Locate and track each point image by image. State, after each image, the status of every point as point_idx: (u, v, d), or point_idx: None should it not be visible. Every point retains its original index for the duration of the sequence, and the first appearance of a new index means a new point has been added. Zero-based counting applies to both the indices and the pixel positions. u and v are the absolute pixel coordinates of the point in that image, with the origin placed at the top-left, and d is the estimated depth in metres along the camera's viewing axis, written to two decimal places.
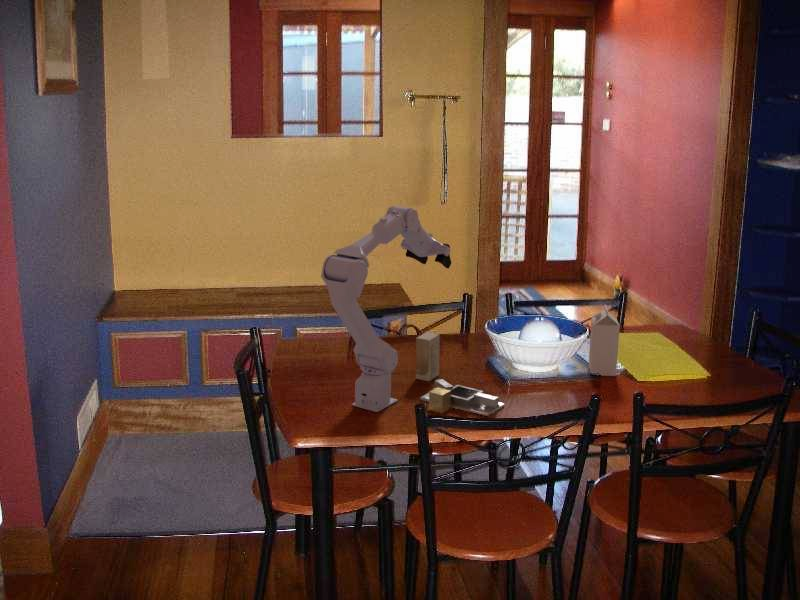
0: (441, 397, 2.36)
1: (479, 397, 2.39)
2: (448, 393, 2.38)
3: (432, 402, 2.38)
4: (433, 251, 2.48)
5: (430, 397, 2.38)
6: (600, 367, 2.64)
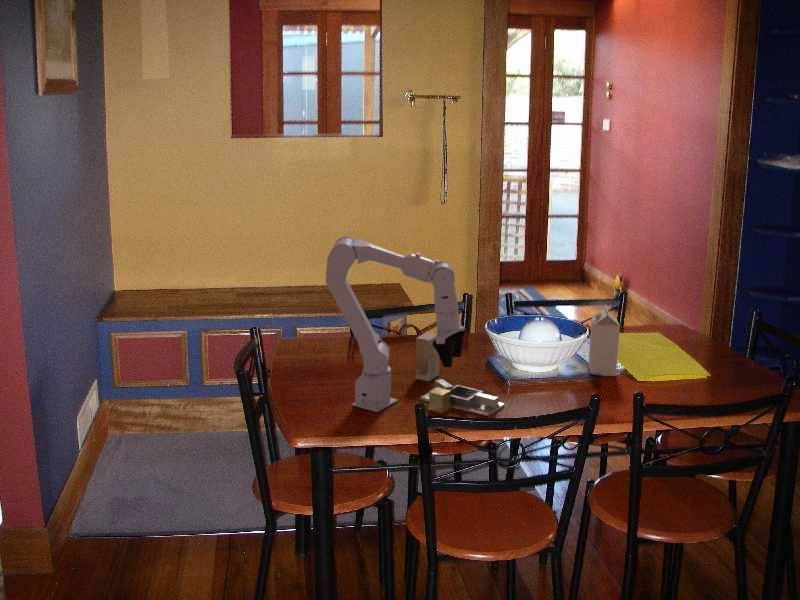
0: (441, 397, 2.36)
1: (479, 397, 2.39)
2: (448, 393, 2.38)
3: (432, 402, 2.38)
4: (441, 333, 2.35)
5: (430, 397, 2.38)
6: (600, 367, 2.64)
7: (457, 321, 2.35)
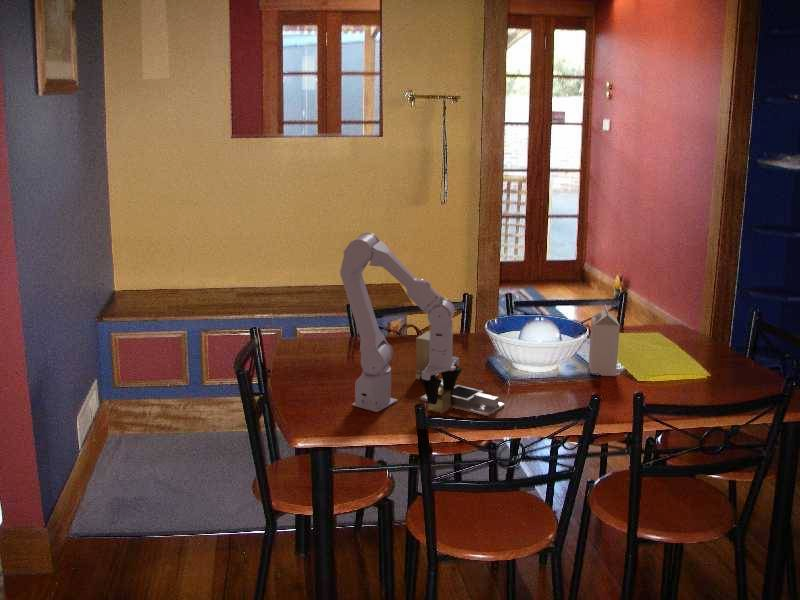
0: (441, 397, 2.36)
1: (479, 397, 2.39)
2: (448, 393, 2.38)
3: None
4: (430, 369, 2.35)
5: None
6: (600, 367, 2.64)
7: (448, 360, 2.34)
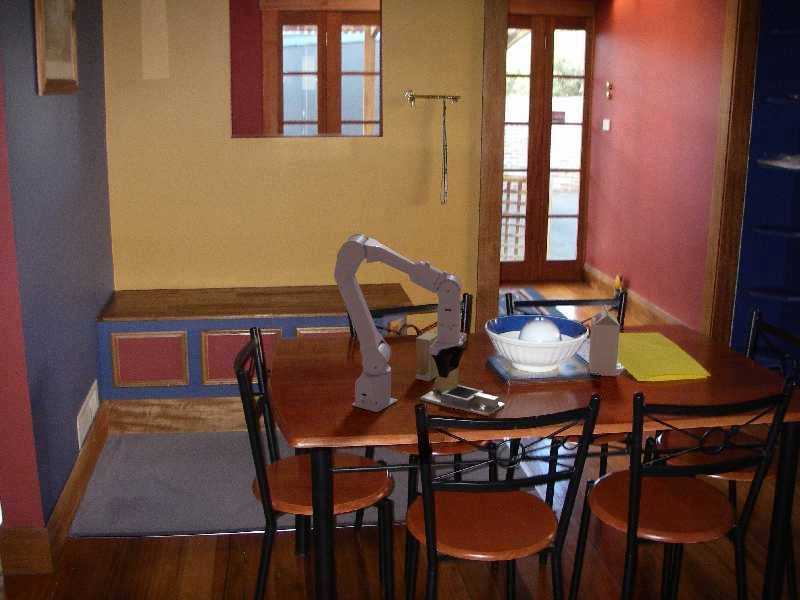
0: (448, 374, 2.36)
1: (479, 397, 2.39)
2: (456, 370, 2.38)
3: (439, 379, 2.38)
4: (438, 344, 2.34)
5: (438, 375, 2.38)
6: (600, 367, 2.64)
7: (456, 335, 2.34)
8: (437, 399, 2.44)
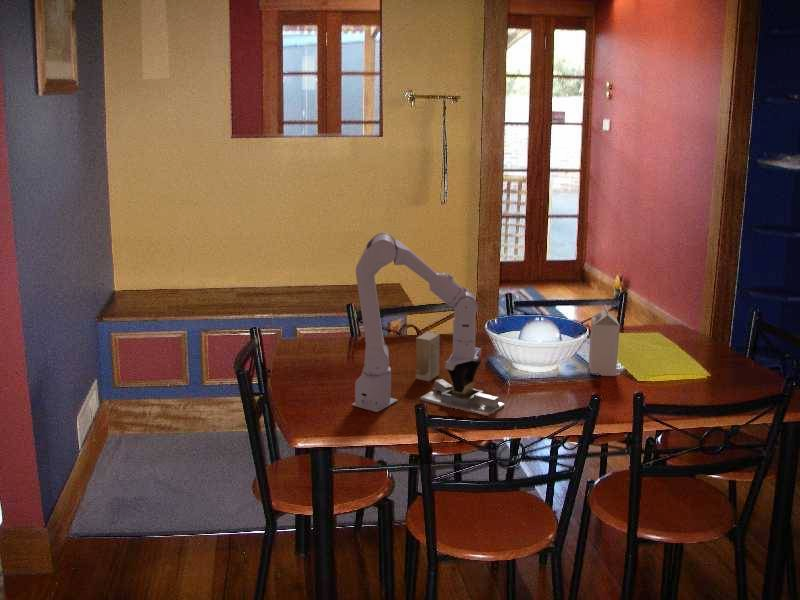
0: (464, 387, 2.40)
1: (479, 397, 2.39)
2: (471, 384, 2.42)
3: (454, 392, 2.42)
4: (453, 359, 2.39)
5: (453, 388, 2.42)
6: (600, 367, 2.64)
7: (471, 351, 2.38)
8: (437, 399, 2.44)
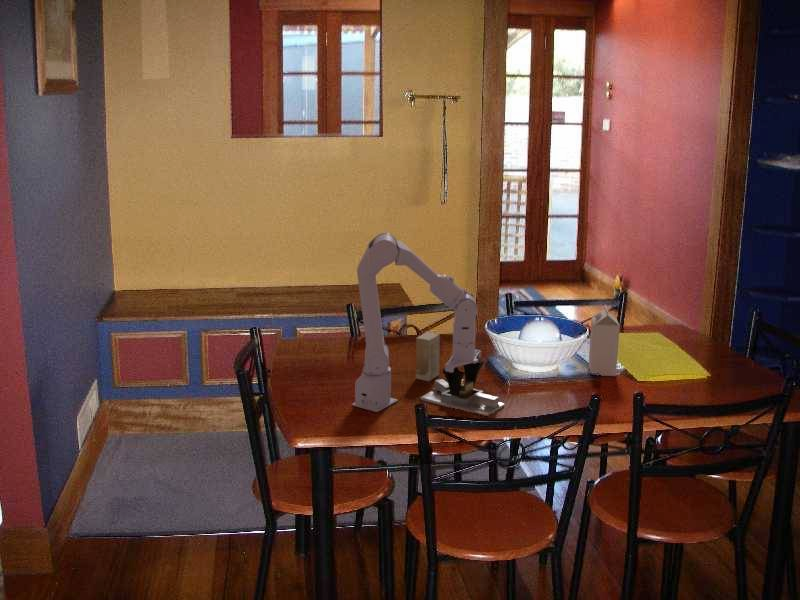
0: (464, 387, 2.40)
1: (479, 397, 2.39)
2: (471, 384, 2.42)
3: None
4: (453, 361, 2.39)
5: None
6: (600, 367, 2.64)
7: (471, 353, 2.38)
8: (437, 399, 2.44)
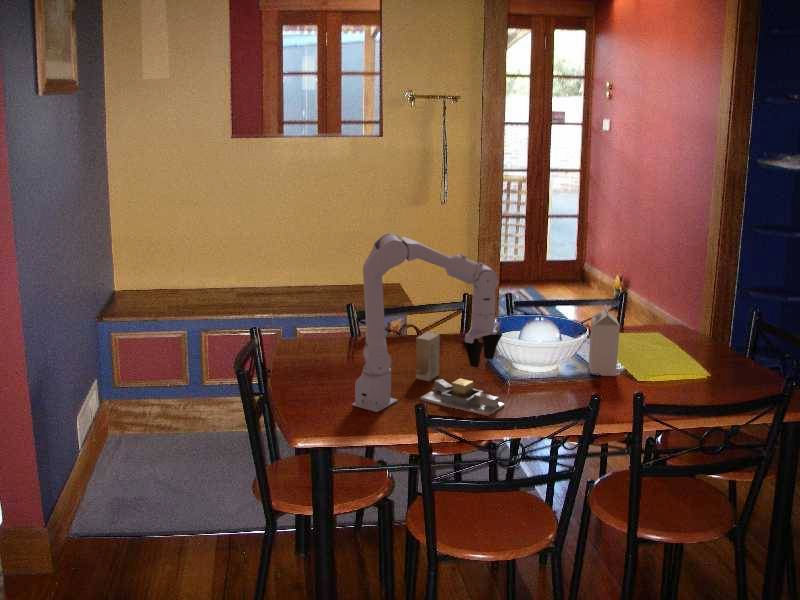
0: (464, 387, 2.40)
1: (479, 397, 2.39)
2: (471, 384, 2.42)
3: (454, 392, 2.42)
4: (473, 333, 2.41)
5: (453, 388, 2.42)
6: (600, 367, 2.64)
7: (491, 324, 2.40)
8: (437, 399, 2.44)
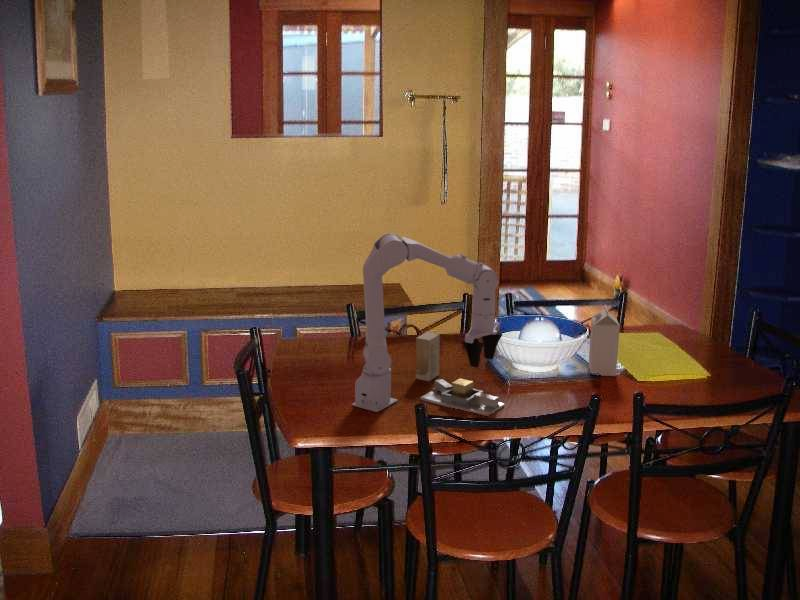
0: (464, 387, 2.40)
1: (479, 397, 2.39)
2: (471, 384, 2.42)
3: (454, 392, 2.42)
4: (473, 333, 2.41)
5: (453, 388, 2.42)
6: (600, 367, 2.64)
7: (491, 324, 2.40)
8: (437, 399, 2.44)
